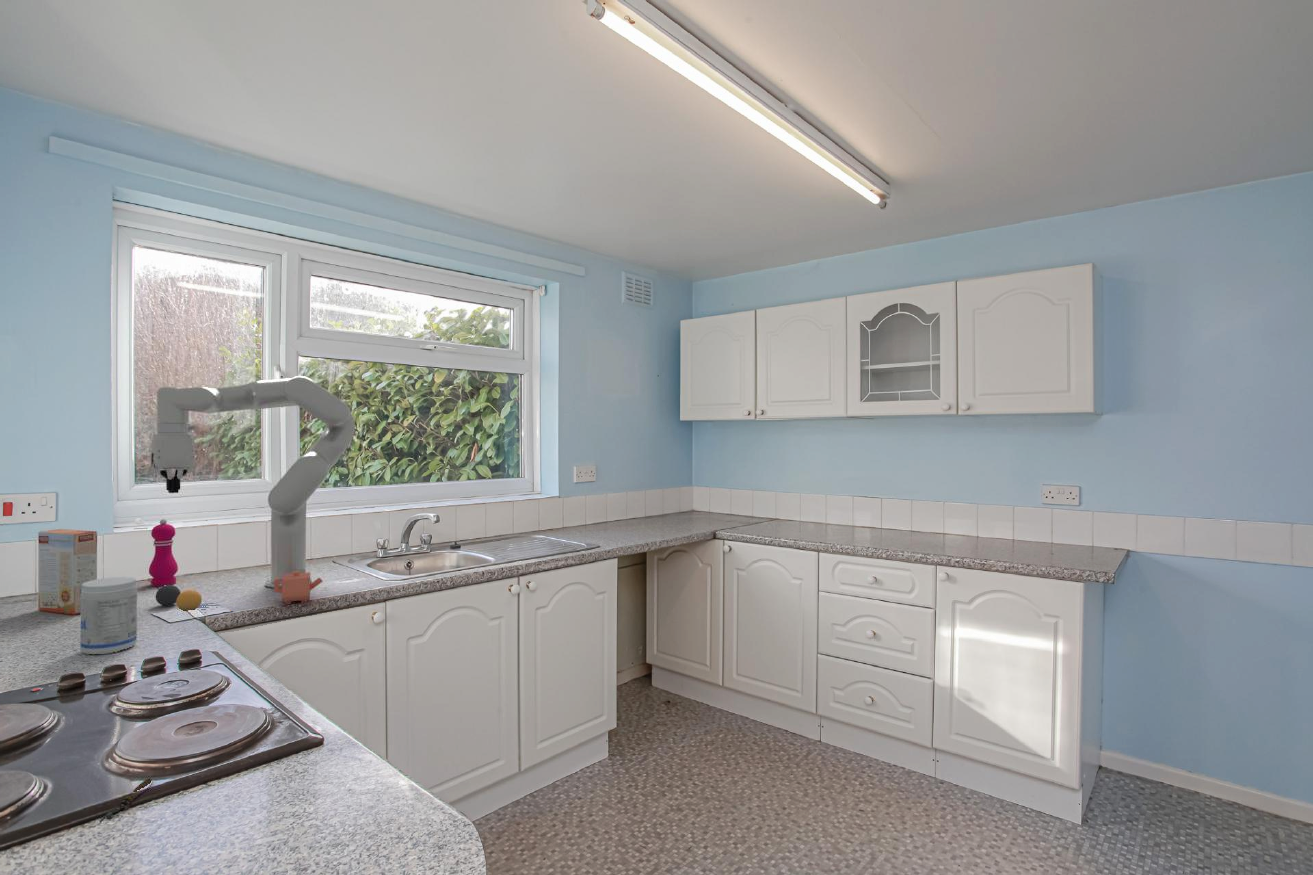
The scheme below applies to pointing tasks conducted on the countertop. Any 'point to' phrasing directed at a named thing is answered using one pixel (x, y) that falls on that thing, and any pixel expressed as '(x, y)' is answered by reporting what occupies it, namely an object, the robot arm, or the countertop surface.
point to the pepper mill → (163, 555)
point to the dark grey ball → (167, 595)
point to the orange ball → (189, 600)
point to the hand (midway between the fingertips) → (173, 492)
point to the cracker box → (65, 568)
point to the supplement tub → (108, 615)
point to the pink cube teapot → (295, 587)
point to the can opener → (126, 801)
